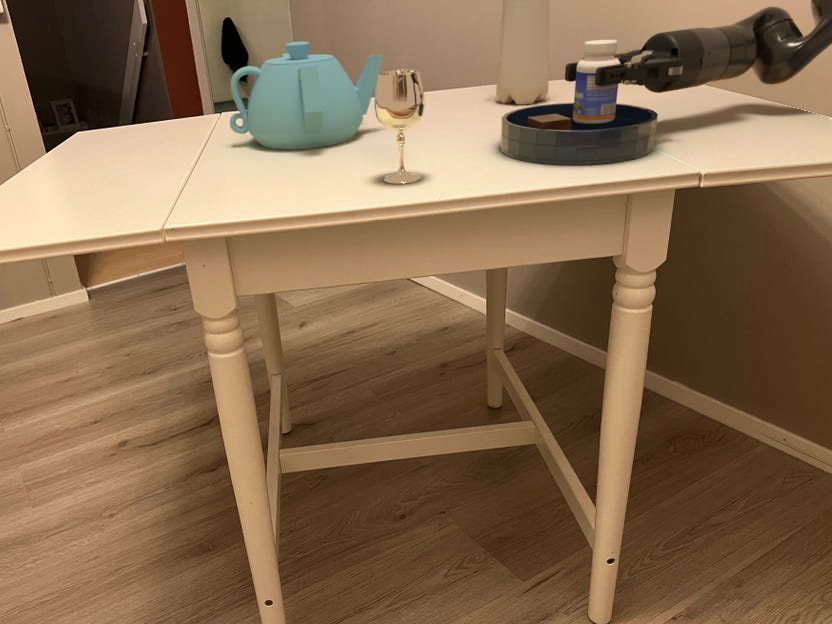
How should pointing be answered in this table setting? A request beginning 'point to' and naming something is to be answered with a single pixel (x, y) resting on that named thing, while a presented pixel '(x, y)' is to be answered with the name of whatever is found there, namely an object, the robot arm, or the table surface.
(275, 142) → the teapot
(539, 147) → the bowl
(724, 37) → the robot arm
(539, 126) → the block
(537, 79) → the bottle
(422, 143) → the table surface
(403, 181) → the wineglass
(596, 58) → the pill bottle
